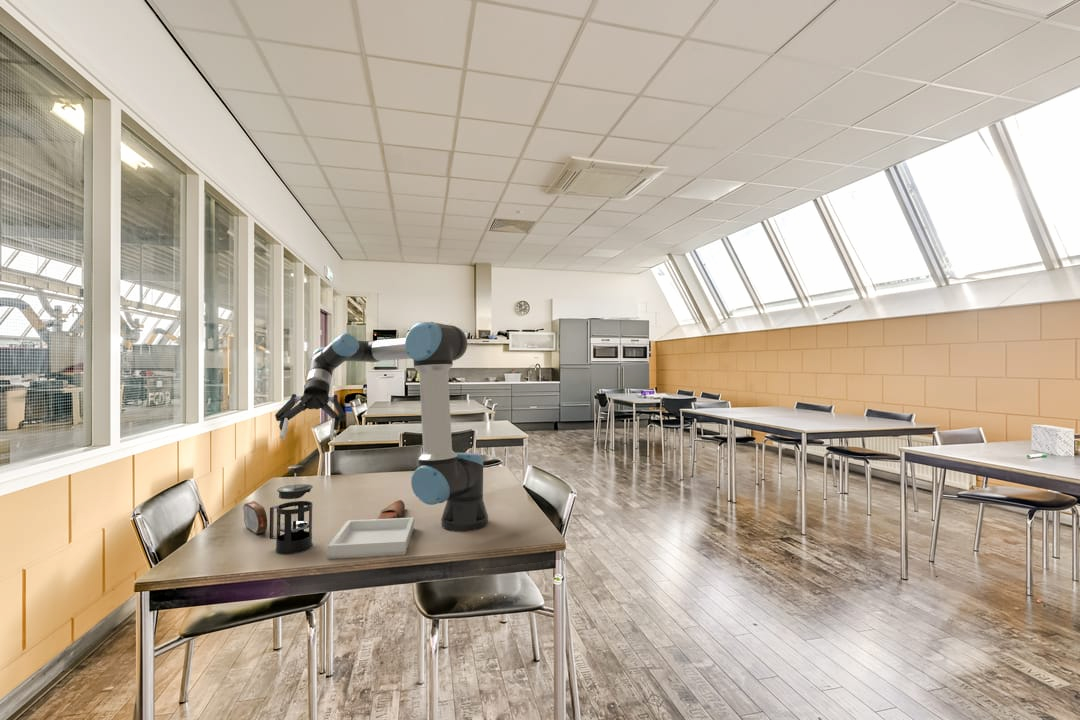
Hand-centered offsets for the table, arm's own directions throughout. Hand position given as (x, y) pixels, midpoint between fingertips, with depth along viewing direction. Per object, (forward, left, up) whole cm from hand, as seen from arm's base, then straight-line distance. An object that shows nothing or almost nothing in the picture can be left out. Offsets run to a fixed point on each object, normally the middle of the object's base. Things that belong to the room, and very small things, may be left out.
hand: (307, 437), depth 146 cm
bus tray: (-22, +10, -29) cm, 38 cm away
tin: (+17, -7, -30) cm, 35 cm away
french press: (0, +11, -30) cm, 31 cm away
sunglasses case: (-23, -16, -30) cm, 41 cm away
